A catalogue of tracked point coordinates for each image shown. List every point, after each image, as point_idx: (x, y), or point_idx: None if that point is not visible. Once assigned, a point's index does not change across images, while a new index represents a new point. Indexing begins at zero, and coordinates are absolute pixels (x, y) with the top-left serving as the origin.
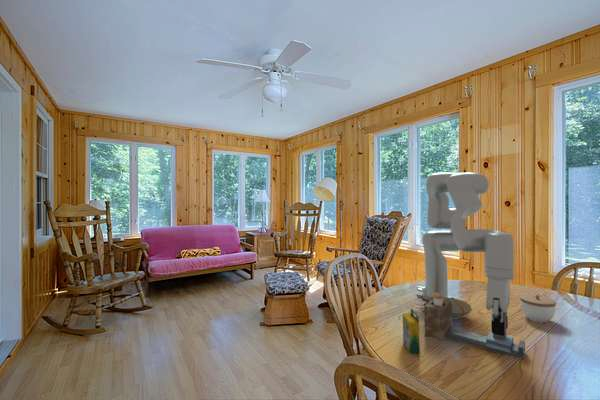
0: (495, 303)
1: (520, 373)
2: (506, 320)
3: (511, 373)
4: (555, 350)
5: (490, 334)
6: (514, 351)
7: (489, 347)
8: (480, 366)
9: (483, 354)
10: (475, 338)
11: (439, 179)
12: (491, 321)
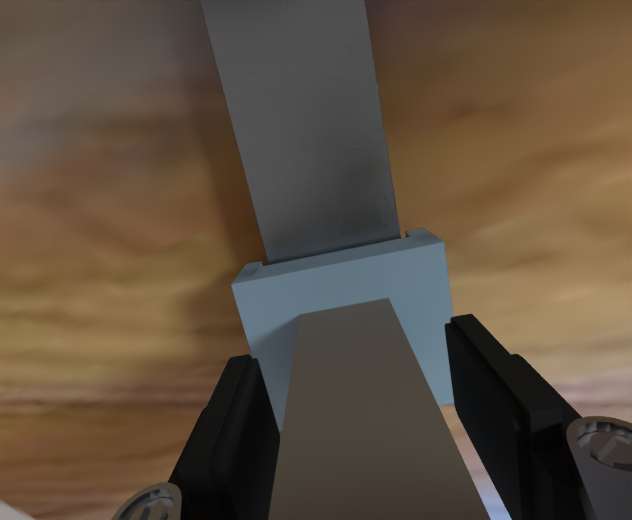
0: None
1: (156, 450)
2: (497, 489)
3: (116, 426)
4: None
5: (349, 274)
6: None
7: None
8: (30, 309)
9: (186, 262)
10: (273, 167)
11: None
12: (186, 450)
